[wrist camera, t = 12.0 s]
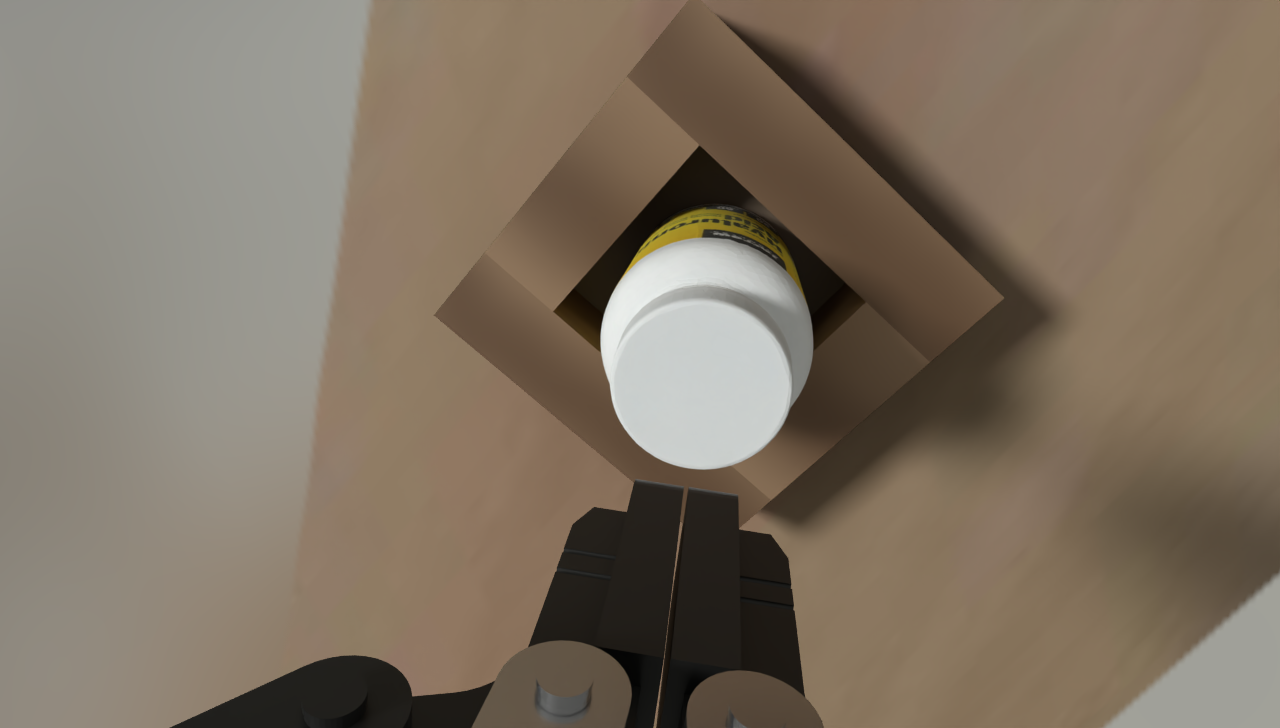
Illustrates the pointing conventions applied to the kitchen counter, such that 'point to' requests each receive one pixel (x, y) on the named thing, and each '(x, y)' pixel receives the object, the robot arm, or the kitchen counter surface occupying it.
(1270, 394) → the kitchen counter surface
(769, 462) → the socket block
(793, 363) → the supplement bottle
